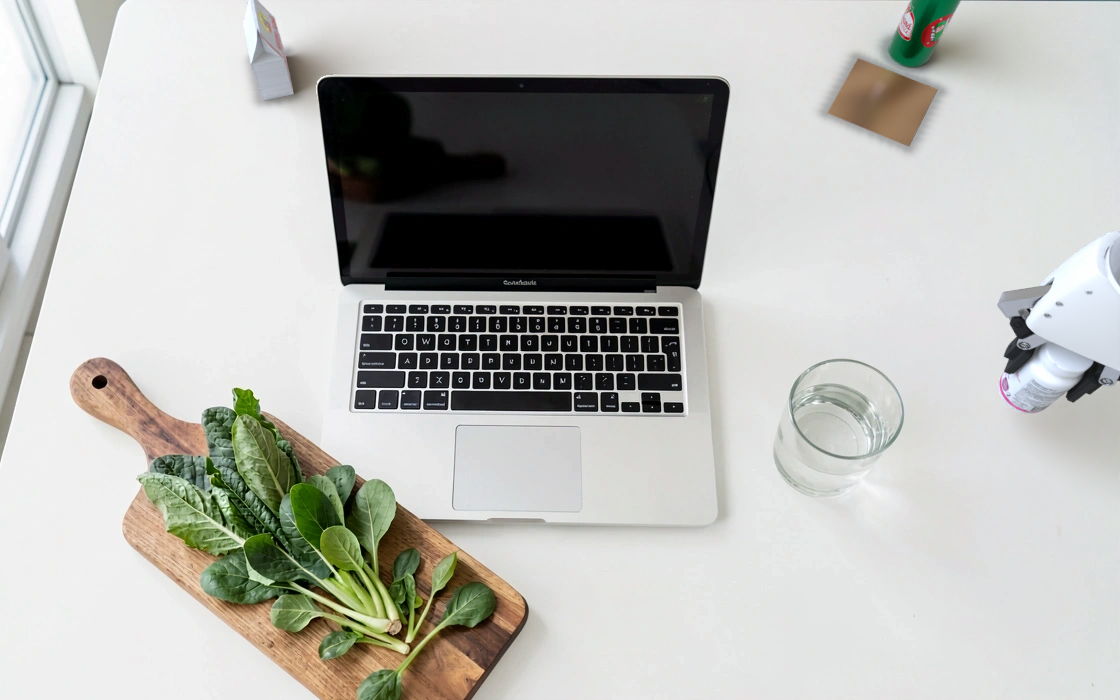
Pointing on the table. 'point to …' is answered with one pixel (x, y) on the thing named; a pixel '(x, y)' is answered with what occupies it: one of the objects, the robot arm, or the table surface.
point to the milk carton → (266, 52)
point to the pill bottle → (1043, 378)
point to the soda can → (921, 30)
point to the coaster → (882, 101)
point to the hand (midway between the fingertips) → (1043, 373)
